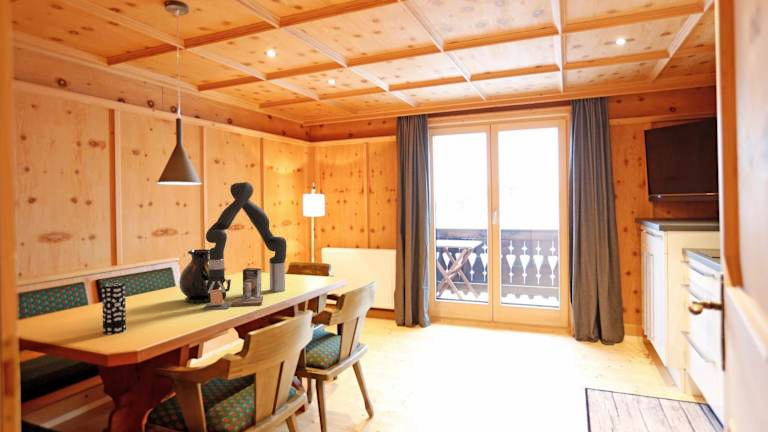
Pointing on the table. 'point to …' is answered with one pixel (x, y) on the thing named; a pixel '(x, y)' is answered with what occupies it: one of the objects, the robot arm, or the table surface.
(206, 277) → the dark brown ceramic vase
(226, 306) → the mat
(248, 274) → the coffee box
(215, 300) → the pinkish tan block
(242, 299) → the post stand
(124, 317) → the white-spotted black cylinder
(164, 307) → the table surface
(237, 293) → the table surface
